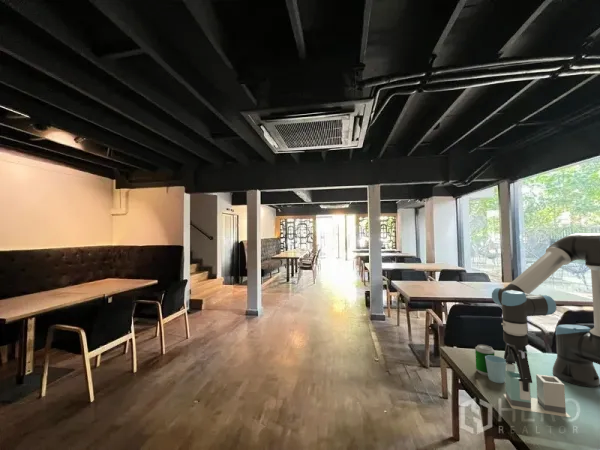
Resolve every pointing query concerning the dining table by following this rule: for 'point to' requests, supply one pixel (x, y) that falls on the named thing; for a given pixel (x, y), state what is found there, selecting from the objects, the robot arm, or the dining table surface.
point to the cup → (496, 368)
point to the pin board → (536, 408)
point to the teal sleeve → (515, 390)
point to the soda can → (482, 358)
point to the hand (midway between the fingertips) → (517, 389)
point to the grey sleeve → (551, 393)
